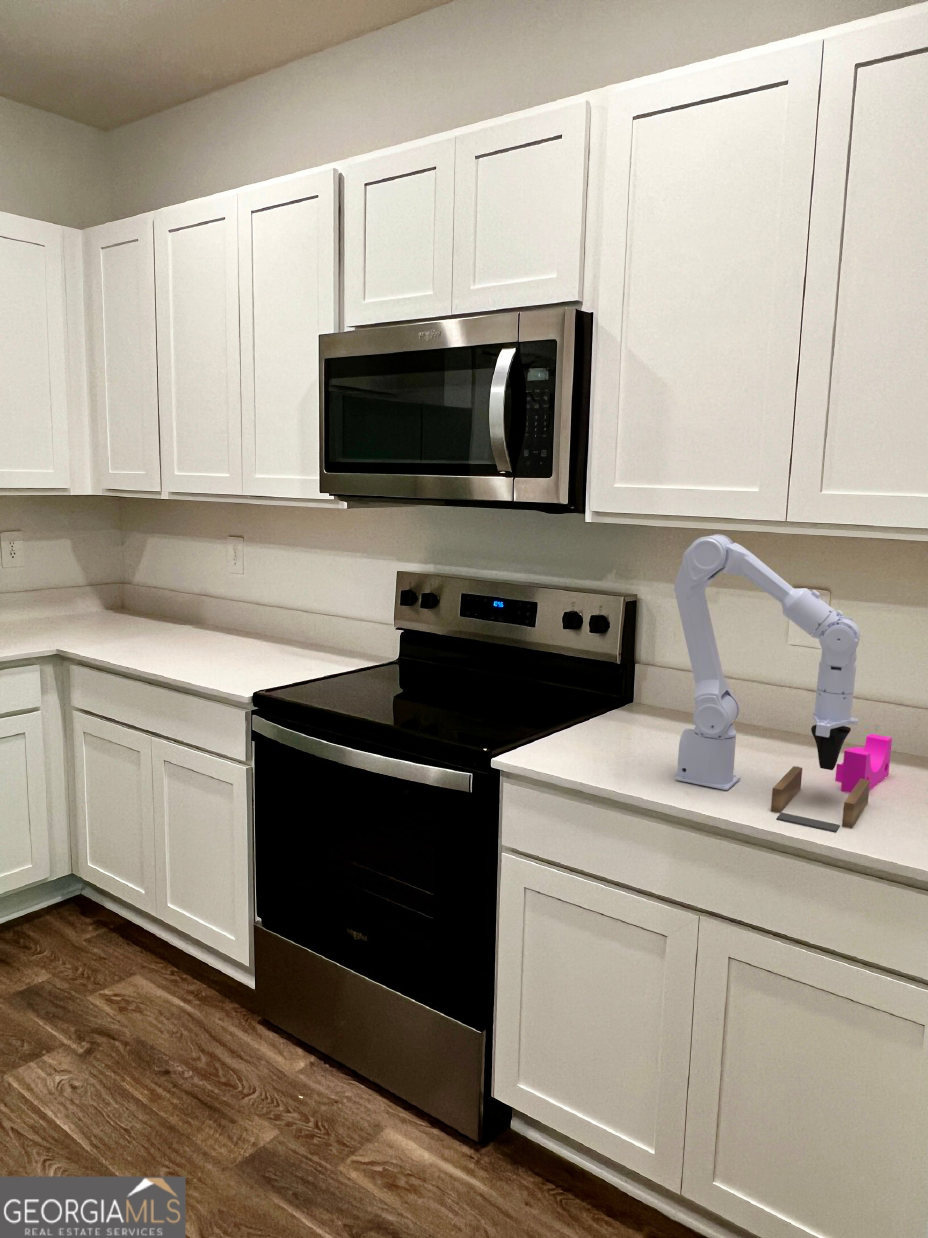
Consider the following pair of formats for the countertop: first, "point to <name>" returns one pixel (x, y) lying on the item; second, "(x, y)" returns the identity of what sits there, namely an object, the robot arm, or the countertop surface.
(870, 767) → the toy block
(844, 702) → the robot arm
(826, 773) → the countertop surface
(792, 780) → the channel
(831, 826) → the pit pad
